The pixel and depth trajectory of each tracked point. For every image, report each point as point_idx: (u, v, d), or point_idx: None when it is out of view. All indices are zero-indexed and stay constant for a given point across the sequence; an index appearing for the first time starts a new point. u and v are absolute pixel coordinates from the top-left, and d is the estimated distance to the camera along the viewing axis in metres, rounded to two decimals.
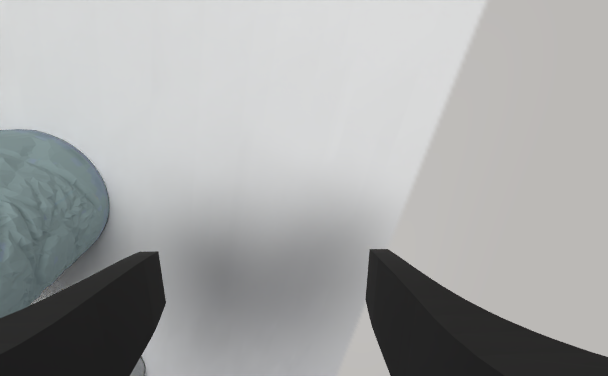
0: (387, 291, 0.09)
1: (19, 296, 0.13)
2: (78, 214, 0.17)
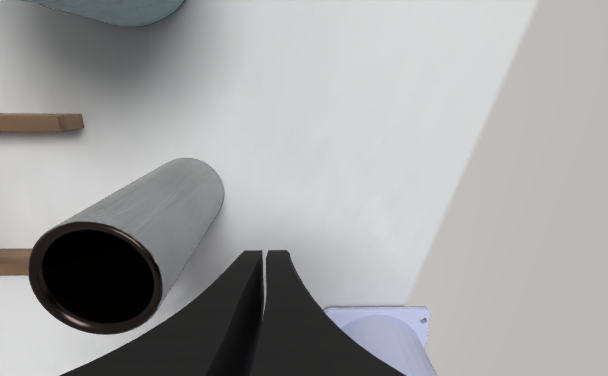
0: None
1: None
2: None
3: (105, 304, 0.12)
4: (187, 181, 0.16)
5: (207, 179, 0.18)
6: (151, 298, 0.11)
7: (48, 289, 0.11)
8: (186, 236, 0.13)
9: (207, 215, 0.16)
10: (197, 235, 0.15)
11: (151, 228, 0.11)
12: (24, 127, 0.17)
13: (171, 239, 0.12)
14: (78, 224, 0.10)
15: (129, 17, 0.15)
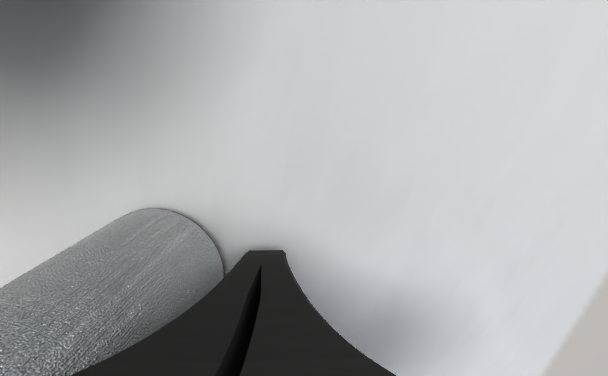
0: None
1: None
2: None
3: None
4: (115, 292, 0.07)
5: (180, 264, 0.09)
6: None
7: None
8: None
9: None
10: None
11: None
12: None
13: None
14: None
15: None
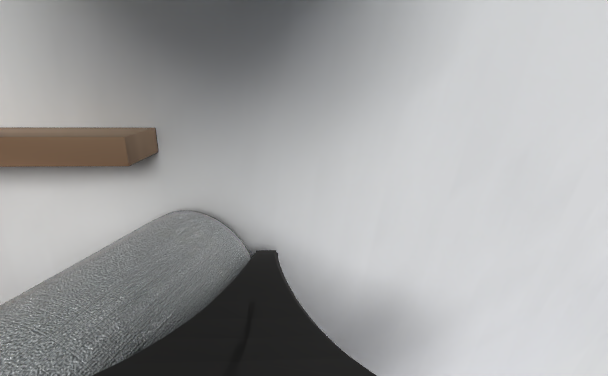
0: None
1: None
2: None
3: None
4: (140, 302, 0.07)
5: (211, 273, 0.09)
6: None
7: None
8: None
9: None
10: None
11: None
12: (57, 159, 0.09)
13: None
14: None
15: None
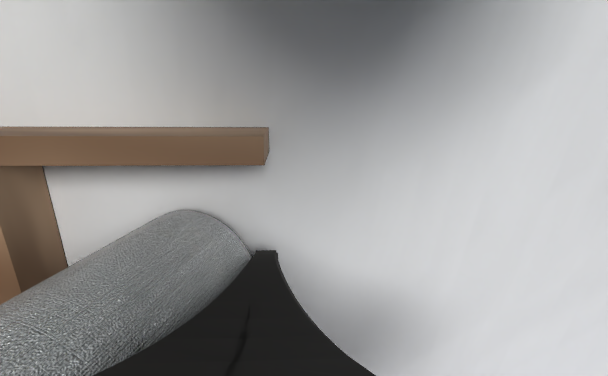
0: None
1: None
2: None
3: None
4: (141, 301, 0.07)
5: (211, 272, 0.09)
6: None
7: None
8: None
9: None
10: None
11: None
12: (196, 158, 0.09)
13: None
14: None
15: None
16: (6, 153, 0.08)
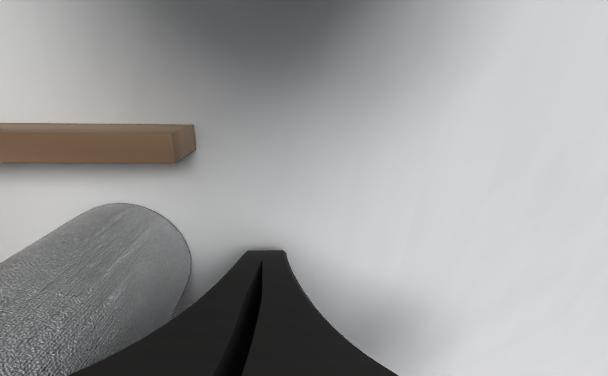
0: None
1: None
2: None
3: None
4: (95, 280, 0.07)
5: (153, 254, 0.09)
6: None
7: None
8: None
9: None
10: None
11: None
12: (103, 155, 0.08)
13: None
14: None
15: None
16: None
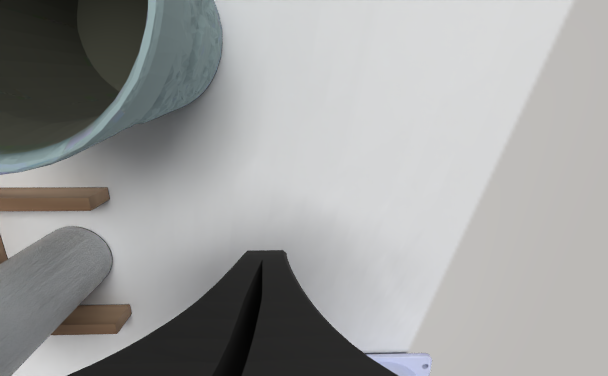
0: None
1: (189, 50, 0.11)
2: (211, 22, 0.15)
3: None
4: (50, 264, 0.17)
5: (83, 253, 0.19)
6: None
7: None
8: (24, 332, 0.15)
9: (71, 294, 0.18)
10: (49, 322, 0.16)
11: None
12: (57, 207, 0.18)
13: None
14: None
15: None
16: None
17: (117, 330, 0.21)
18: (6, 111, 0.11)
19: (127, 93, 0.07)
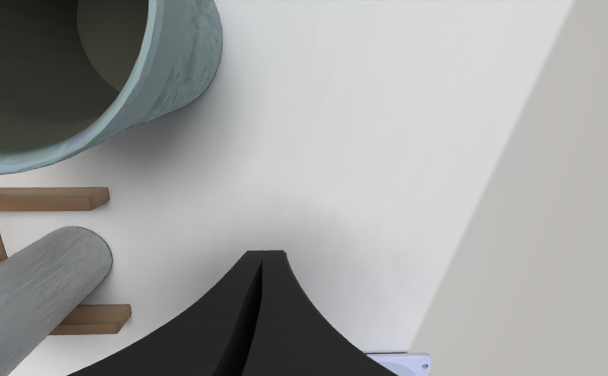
0: None
1: (190, 51, 0.11)
2: (211, 22, 0.15)
3: None
4: (50, 263, 0.17)
5: (83, 252, 0.19)
6: None
7: None
8: (22, 331, 0.14)
9: (70, 294, 0.18)
10: (47, 321, 0.16)
11: None
12: (57, 207, 0.18)
13: None
14: None
15: None
16: None
17: (117, 330, 0.21)
18: (7, 112, 0.11)
19: (128, 93, 0.08)
